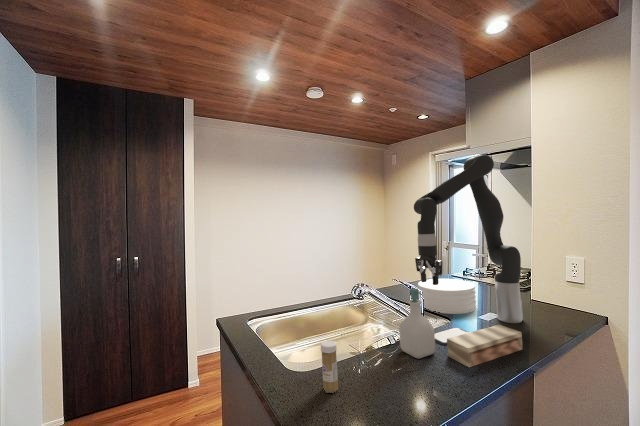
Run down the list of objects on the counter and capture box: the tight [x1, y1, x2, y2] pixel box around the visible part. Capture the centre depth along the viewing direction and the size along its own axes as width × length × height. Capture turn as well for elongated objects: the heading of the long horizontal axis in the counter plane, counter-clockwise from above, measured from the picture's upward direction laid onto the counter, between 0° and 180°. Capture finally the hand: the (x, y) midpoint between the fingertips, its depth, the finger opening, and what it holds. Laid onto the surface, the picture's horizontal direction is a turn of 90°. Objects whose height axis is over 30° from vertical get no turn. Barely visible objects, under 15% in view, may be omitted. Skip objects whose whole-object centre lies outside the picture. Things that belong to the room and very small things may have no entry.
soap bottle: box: [398, 288, 436, 360], centre depth 104 cm, size 10×10×23 cm
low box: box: [446, 324, 524, 368], centre depth 101 cm, size 26×8×6 cm, turn 112°
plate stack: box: [417, 278, 477, 315], centre depth 155 cm, size 28×28×12 cm
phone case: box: [434, 327, 470, 346], centre depth 115 cm, size 9×2×16 cm
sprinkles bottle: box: [320, 340, 339, 392], centre depth 84 cm, size 5×5×14 cm
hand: (429, 283), depth 125 cm, fingers open, 6 cm apart
